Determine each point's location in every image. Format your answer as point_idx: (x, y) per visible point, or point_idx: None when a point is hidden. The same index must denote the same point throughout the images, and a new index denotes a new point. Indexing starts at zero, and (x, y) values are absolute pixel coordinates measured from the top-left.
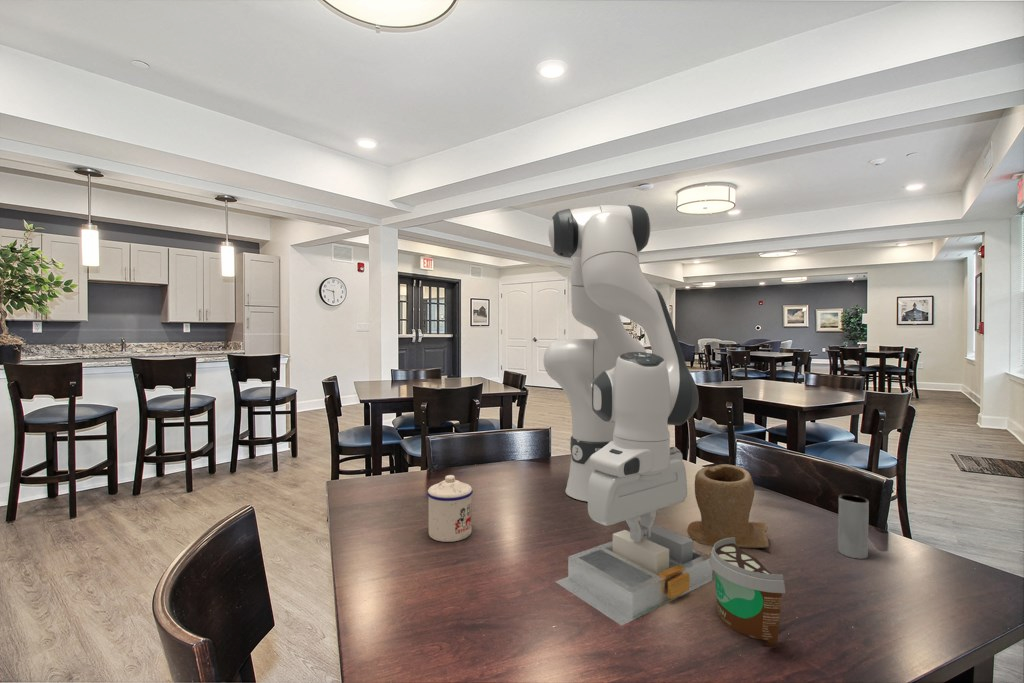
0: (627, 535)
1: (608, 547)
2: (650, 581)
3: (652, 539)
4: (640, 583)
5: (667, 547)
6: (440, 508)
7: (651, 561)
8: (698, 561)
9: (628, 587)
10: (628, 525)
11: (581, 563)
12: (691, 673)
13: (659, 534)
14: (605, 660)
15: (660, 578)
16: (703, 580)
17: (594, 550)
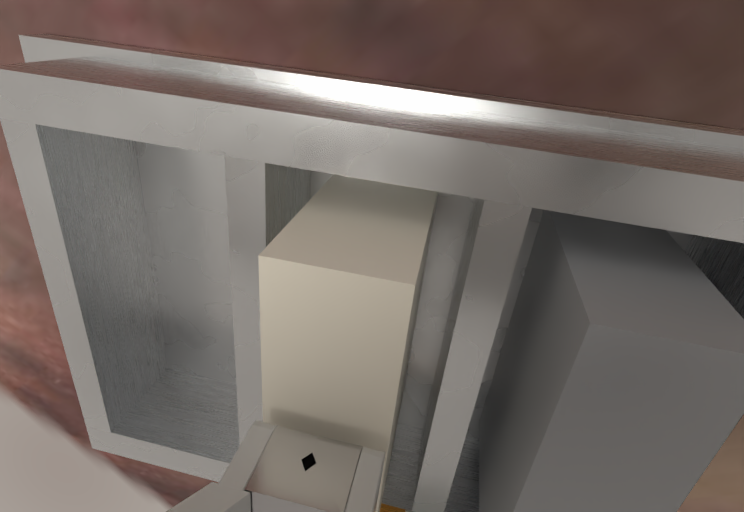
0: (333, 347)
1: (305, 168)
2: (203, 467)
3: (530, 407)
4: (161, 446)
5: (499, 483)
6: None
7: None
8: None
9: (103, 427)
10: (184, 502)
11: (22, 185)
12: (161, 499)
13: (532, 492)
14: (23, 376)
15: None
16: None
17: (183, 135)
